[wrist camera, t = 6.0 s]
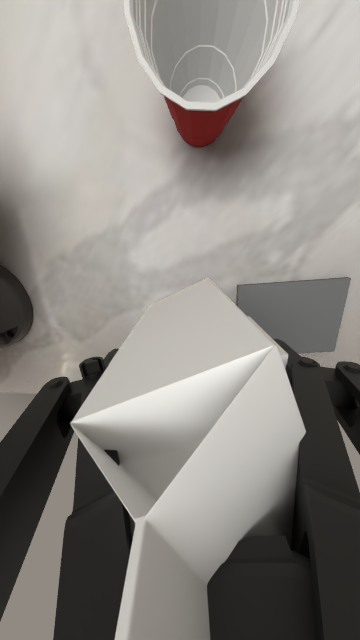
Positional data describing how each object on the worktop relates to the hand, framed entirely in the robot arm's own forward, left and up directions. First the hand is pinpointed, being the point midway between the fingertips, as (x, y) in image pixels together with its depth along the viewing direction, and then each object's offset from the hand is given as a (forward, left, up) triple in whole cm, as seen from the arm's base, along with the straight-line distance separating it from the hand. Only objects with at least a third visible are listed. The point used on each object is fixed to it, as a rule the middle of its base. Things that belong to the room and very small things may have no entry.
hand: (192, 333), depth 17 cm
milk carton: (0, 0, -4) cm, 4 cm away
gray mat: (+15, -4, -13) cm, 21 cm away
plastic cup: (+2, +22, -13) cm, 26 cm away
